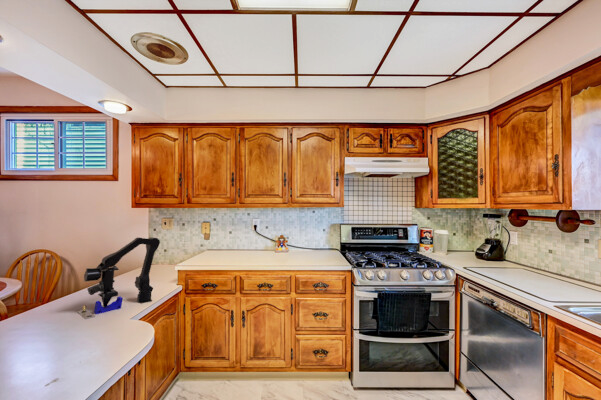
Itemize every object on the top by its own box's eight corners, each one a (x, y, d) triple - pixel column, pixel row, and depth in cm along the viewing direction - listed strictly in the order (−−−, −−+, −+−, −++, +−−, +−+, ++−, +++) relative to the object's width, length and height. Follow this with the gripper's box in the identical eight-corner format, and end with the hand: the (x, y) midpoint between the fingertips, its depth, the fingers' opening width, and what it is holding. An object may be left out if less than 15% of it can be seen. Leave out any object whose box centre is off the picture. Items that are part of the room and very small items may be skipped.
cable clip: (117, 305, 152) (118, 295, 152) (121, 308, 150) (122, 298, 150) (92, 311, 142) (94, 300, 142) (96, 314, 139) (98, 303, 140)
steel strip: (86, 310, 146) (87, 303, 146) (94, 316, 136) (95, 309, 136) (77, 311, 143) (77, 304, 143) (85, 319, 133) (85, 311, 133)
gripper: (85, 278, 148) (82, 306, 147) (94, 283, 137) (91, 314, 135) (108, 275, 157) (106, 302, 156) (119, 280, 145) (116, 309, 144)
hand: (104, 307), depth 147 cm, fingers closed
